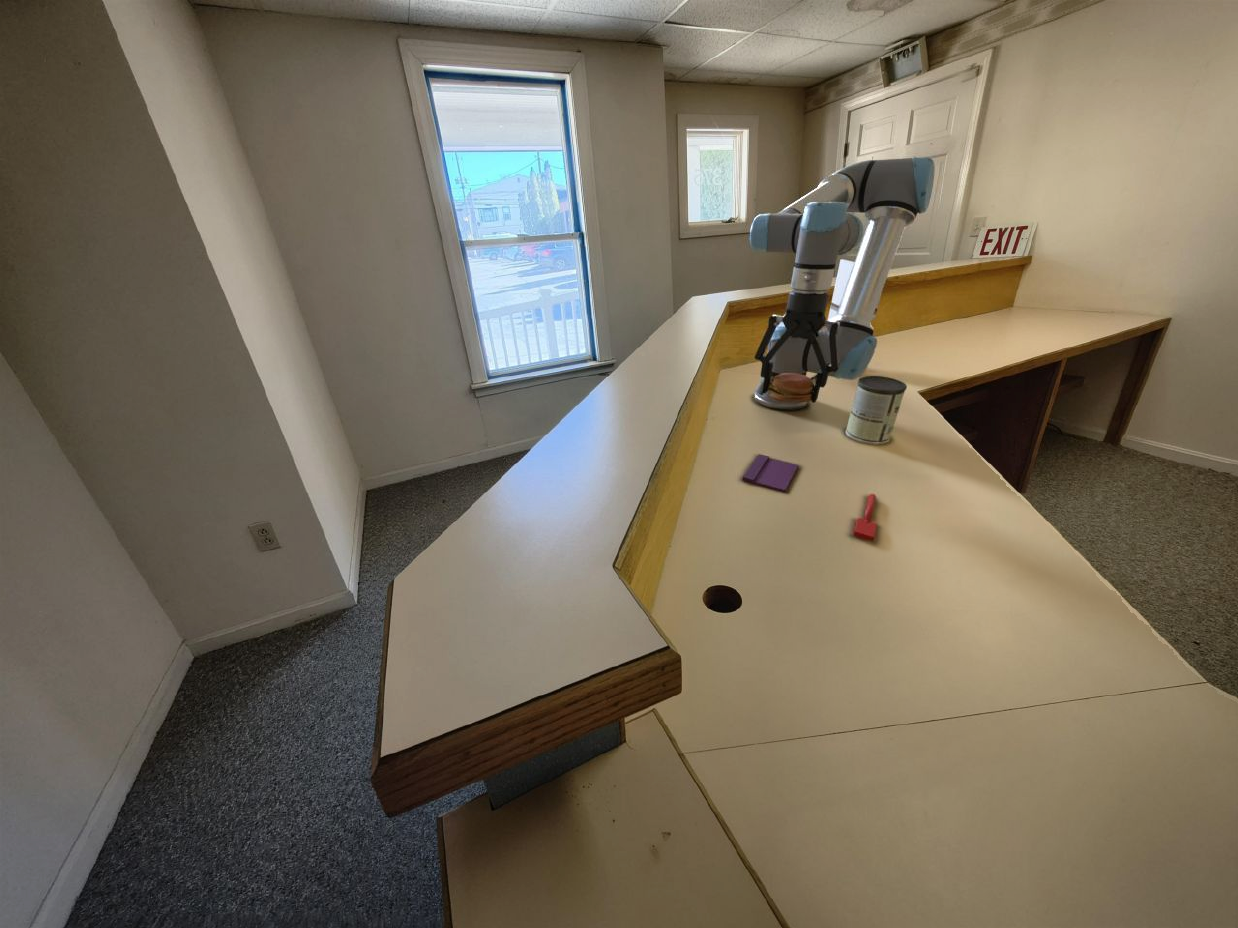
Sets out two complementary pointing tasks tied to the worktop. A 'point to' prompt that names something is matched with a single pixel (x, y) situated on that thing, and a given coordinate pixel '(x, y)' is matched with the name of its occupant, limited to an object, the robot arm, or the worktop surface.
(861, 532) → the red spatula
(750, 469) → the cloth
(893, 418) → the coffee can
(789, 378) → the burger
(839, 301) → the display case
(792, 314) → the robot arm
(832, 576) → the worktop surface
